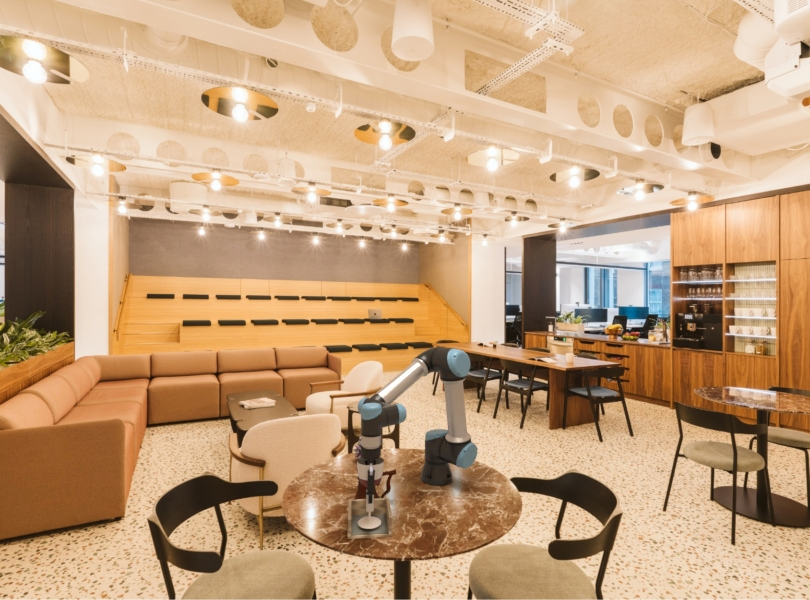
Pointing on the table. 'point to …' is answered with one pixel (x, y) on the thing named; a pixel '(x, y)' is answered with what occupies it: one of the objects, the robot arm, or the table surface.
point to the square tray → (380, 511)
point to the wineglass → (363, 478)
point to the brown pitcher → (362, 488)
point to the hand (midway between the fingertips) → (369, 508)
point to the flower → (358, 450)
